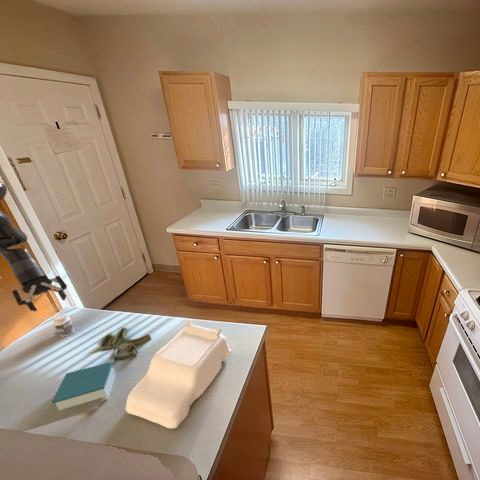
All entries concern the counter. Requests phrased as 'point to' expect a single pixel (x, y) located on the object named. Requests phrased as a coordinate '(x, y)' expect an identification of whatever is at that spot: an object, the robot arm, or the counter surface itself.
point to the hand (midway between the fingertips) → (50, 304)
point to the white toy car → (178, 375)
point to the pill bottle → (63, 324)
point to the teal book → (85, 386)
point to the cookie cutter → (129, 348)
